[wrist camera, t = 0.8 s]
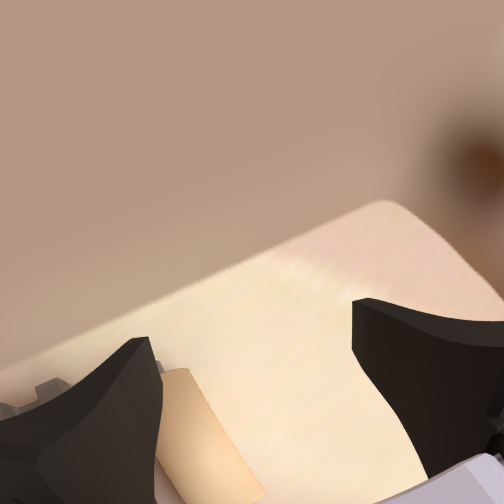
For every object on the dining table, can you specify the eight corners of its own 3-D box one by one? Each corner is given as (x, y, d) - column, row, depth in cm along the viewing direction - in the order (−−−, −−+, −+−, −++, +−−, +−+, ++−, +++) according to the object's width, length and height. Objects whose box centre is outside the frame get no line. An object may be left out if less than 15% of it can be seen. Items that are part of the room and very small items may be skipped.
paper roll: (273, 499, 18) (282, 514, 14) (214, 527, 16) (208, 549, 12) (184, 359, 24) (172, 341, 19) (129, 386, 22) (105, 374, 18)
